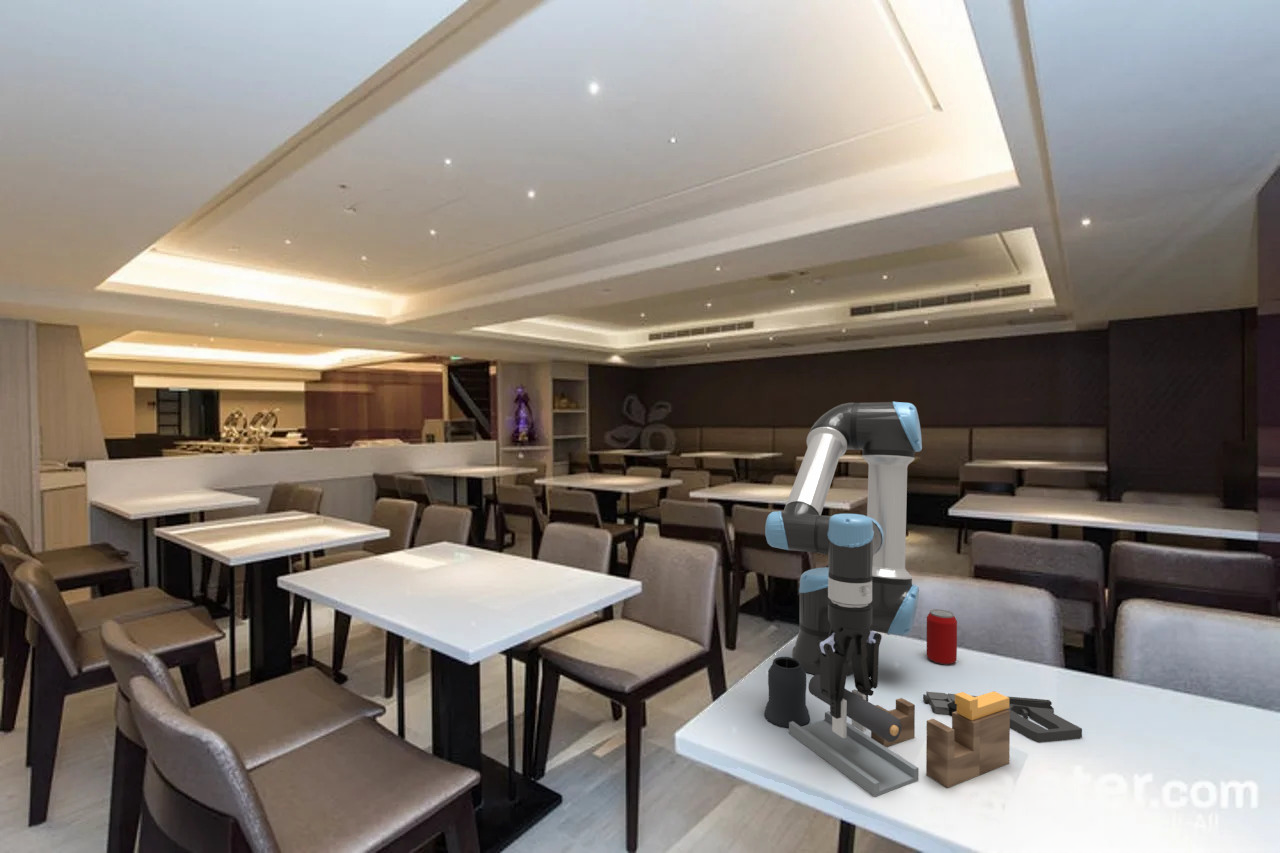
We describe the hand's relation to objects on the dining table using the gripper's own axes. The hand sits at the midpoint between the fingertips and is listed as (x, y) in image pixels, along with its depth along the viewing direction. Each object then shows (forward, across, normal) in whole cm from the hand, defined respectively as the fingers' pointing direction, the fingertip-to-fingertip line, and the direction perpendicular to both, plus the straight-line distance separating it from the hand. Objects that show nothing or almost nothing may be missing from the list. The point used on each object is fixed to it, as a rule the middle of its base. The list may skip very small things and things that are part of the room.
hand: (849, 730), depth 106 cm
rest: (+4, +12, +1) cm, 13 cm away
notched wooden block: (+4, +16, -12) cm, 20 cm away
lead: (-3, 0, -1) cm, 3 cm away
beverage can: (+4, +52, +21) cm, 56 cm away
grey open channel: (+5, 0, 0) cm, 5 cm away
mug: (+5, 0, +17) cm, 17 cm away
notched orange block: (-5, +19, -12) cm, 23 cm away
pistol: (+5, +37, -4) cm, 37 cm away
